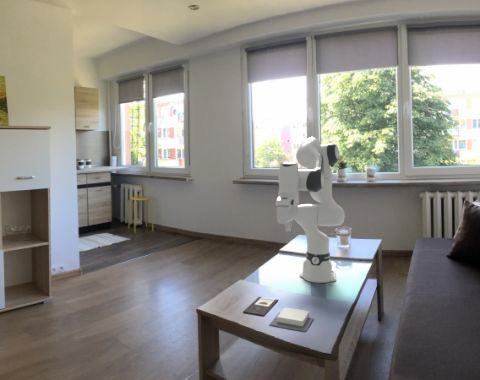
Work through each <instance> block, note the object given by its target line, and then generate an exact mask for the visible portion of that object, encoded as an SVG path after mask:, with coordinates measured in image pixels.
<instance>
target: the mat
mask: <svg viewBox="0 0 480 380" xmlns="http://www.w3.org/2000/svg"><path fill="white" fill-rule="evenodd" d="M280 313H281V312H278V313H277V315H275V317H274V318H273V319H272V321H271V322H270V323H269V326H271V327H276V328H282V329H288V330H292V331H297V332H304V333H307V331H308V329H309V328H310V327H311V324H312V323H313V321H314V317H310V316H309V317H308V319H307V320H306V322H305V324H304V325H303V326H297V325H292V324H286V323H281V322H277V316H278V315H279V314H280Z"/></svg>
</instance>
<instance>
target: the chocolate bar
mask: <svg viewBox="0 0 480 380" xmlns="http://www.w3.org/2000/svg"><path fill="white" fill-rule="evenodd" d="M278 301H279V299H276V298H270V297H265V296H263V297H262V296H257V298H256V299H255V300H253V302H251V304H250V305H248V306H247V308H246V309H244V310H243V311H242V313H243V314H248V315H253V316H259V317H265V316H266V315H267V314H268V313H269V312H270V311H271V309H273V307H274V306H275V305H276V304H277V303H278Z"/></svg>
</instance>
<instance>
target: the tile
mask: <svg viewBox="0 0 480 380" xmlns="http://www.w3.org/2000/svg"><path fill="white" fill-rule="evenodd" d="M279 313H280V314H279V315H278V314H277V315H278V316H277V315H276V316H277V322H281V323H286V324H292V325H297V326H303V325H304V324H305V322H306V320H307V319H308V317H309V318H310V310H309V311H308V310H304V309H297V308H291V307H284V308H283V309H282V310H281V312H279Z"/></svg>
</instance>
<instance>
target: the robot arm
mask: <svg viewBox="0 0 480 380" xmlns="http://www.w3.org/2000/svg"><path fill="white" fill-rule="evenodd" d="M339 149H340V148H339V147H338V146H337V144H335V143H327V144H322V143H321V141H320V140H319V139H318V138H316V137H315V136H314V137H313V136H311V137H308V138H306V139H305V140H303V142H301V144H300V145H299V147H298V149H297V151H296V156H295V157H296V161H297V162H295V161H284V162H282V163H280V165H279V168H278V169H279V171H278V186H279V187H278V191H277V193H278V195H277V198H276V200H275V206H276V221H277V223H278V224H279V225H280V224H281V225H284V229H285V230H284V232H287V233H289V232H291V230H292V226H293V225H292V224H293V220H294V222H296V223H297V224H298V225H299V226H300V227H301V228H302V229H303V231H304V233H305V237H306V244H307V245H306V246H307V248H306V252H305V255H306V256H305V258H306V259H305V260H304V261H303V262H302V273H300V274H299V277H300V278H303V279H304V280H305V281H307V282H311V283H316V284H319V283H320V284H321V283H322V284H323V283H329V282H337V278H336V277H337V276H336V271H335V270H333V264H332V261H331V254H330V238H329V236H328V235H327V234H326V233H324V232H323V231H320V230H319V228H318V227H319V226H320V227H337V226H341V225H343V223H344V221H345V217H346V212H345V211H344V209H343V207H342V206H340V205H339V204H338V203H337V202H336V201H335V200H334V198H333V189H332V188H333V171H332V168H333V167H335V165H336V164H337V162H338V161H339V159H340V150H339ZM298 164H299V165H300V166H301V167H303V169H301V168H300V169H299V165H298ZM304 168H305V169H304ZM300 191H301V192H309V194H310V197H311V198H312V199H313V200H314V201H316V202H318V203H317V204H316V203H315V204H314V203H303V204H300V203H299V202H300Z"/></svg>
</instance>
